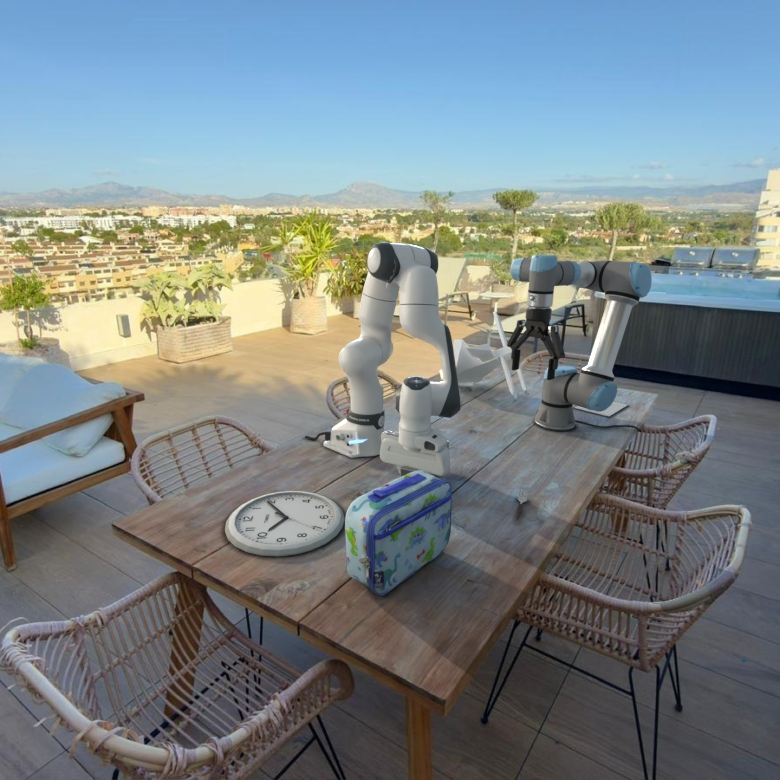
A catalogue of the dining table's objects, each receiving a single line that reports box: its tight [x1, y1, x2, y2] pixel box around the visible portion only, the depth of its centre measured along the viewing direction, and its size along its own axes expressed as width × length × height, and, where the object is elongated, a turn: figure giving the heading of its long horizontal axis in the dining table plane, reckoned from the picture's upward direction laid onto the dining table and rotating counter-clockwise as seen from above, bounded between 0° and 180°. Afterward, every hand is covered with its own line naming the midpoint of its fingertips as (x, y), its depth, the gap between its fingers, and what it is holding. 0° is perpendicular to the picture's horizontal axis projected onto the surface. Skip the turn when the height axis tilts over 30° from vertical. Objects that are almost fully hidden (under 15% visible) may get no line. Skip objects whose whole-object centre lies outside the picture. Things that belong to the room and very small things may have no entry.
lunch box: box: [344, 470, 453, 596], centre depth 114 cm, size 26×11×21 cm, turn 135°
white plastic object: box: [438, 310, 531, 400], centre depth 245 cm, size 37×45×31 cm
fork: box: [516, 487, 529, 521], centre depth 143 cm, size 3×16×2 cm, turn 160°
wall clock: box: [224, 490, 345, 557], centre depth 134 cm, size 30×2×30 cm
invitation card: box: [573, 400, 629, 418], centre depth 226 cm, size 21×1×15 cm
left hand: (413, 481), depth 147 cm, fingers closed on bar, 4 cm apart
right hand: (532, 374), depth 165 cm, fingers open, 13 cm apart
